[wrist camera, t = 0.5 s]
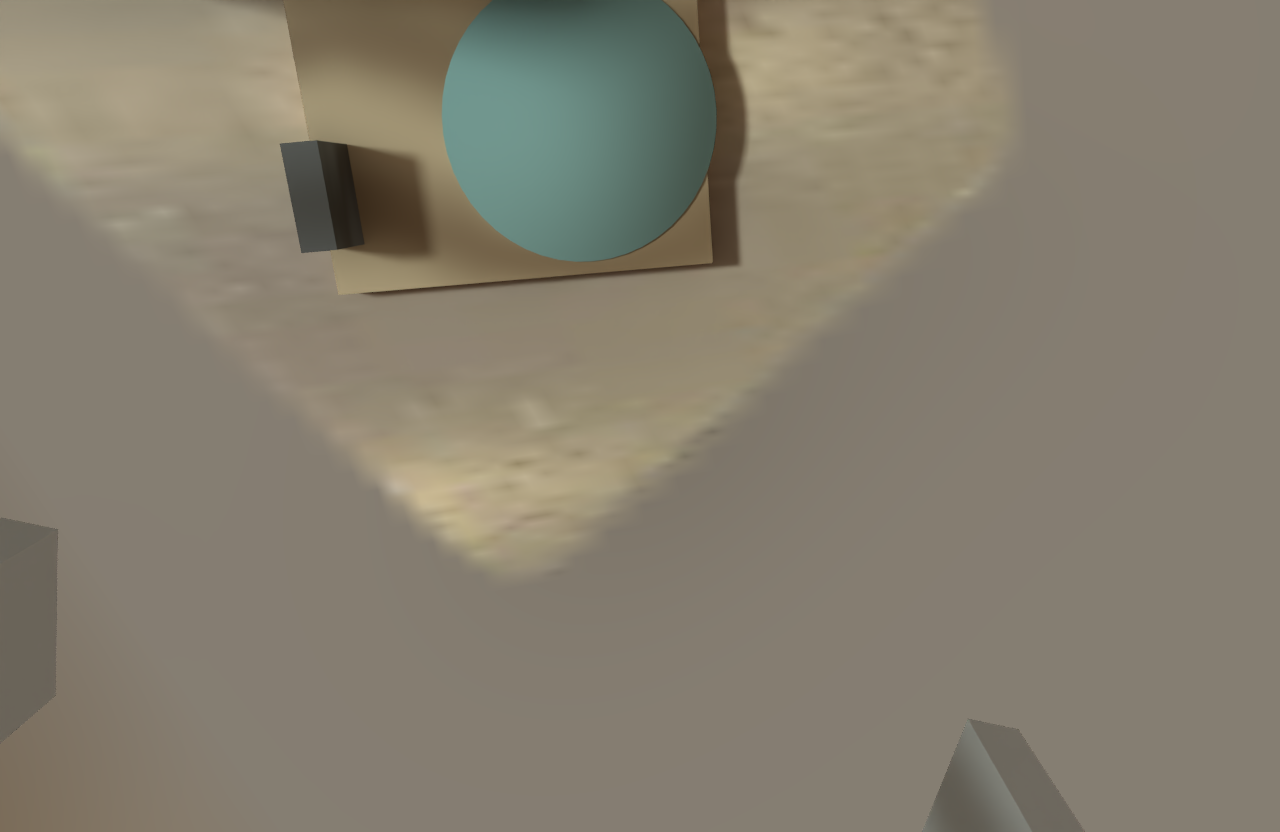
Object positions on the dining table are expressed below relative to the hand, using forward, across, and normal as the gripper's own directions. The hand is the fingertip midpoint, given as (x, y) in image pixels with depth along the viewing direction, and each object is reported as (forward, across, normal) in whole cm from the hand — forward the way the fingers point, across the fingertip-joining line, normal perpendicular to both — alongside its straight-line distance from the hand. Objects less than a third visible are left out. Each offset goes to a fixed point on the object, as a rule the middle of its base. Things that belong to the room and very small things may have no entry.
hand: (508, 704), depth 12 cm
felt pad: (+24, -3, +9) cm, 26 cm away
